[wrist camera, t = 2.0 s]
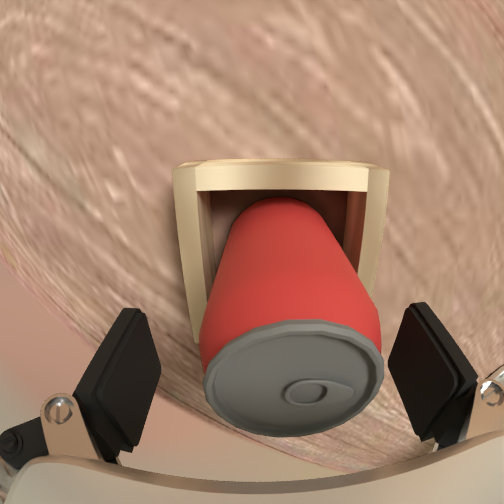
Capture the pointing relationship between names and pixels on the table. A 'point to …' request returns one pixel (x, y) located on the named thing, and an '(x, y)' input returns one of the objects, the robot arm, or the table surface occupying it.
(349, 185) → the frame
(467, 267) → the table surface
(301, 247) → the beer can
